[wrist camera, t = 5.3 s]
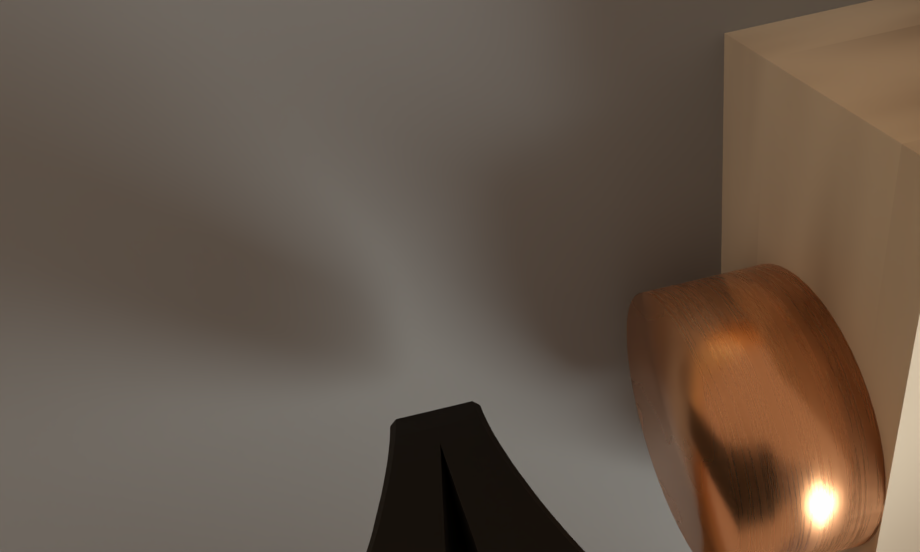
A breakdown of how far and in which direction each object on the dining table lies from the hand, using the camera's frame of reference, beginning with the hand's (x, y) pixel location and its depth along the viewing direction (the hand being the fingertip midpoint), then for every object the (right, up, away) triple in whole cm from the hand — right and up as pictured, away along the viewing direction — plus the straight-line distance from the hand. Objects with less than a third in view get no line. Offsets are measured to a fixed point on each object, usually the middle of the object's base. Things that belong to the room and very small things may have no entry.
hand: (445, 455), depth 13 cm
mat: (+3, +2, +2) cm, 4 cm away
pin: (+8, +3, +2) cm, 9 cm away
